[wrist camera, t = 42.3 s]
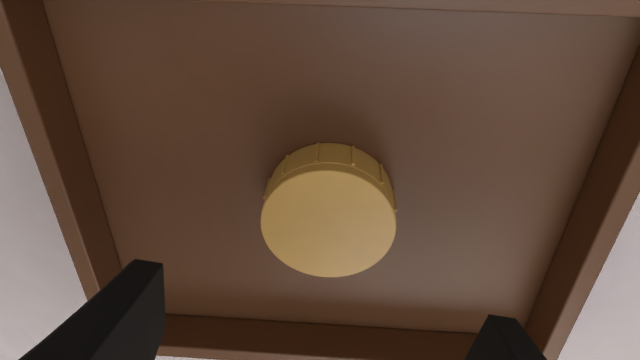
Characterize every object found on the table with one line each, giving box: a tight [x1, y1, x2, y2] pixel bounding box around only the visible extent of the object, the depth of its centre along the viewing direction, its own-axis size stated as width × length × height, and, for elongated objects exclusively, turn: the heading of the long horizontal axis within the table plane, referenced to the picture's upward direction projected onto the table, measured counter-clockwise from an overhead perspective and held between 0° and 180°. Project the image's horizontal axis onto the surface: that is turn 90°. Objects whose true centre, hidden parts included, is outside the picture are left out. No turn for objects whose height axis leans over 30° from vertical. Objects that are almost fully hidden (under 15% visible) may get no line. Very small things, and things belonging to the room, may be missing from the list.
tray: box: [0, 0, 640, 360], centre depth 14 cm, size 16×13×2 cm
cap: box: [260, 142, 397, 277], centre depth 13 cm, size 4×4×2 cm
